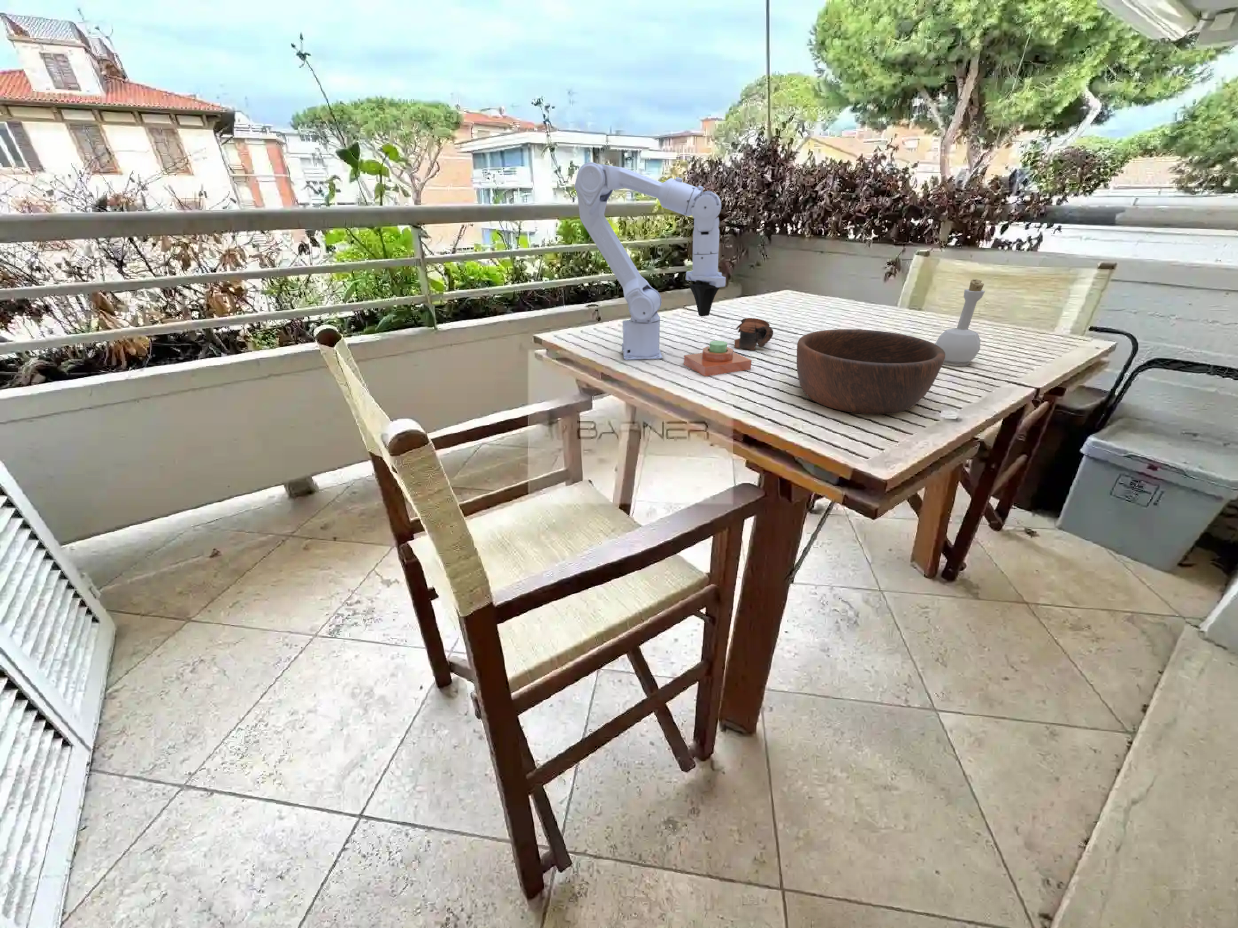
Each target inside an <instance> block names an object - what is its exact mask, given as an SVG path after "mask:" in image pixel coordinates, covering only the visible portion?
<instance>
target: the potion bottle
mask: <svg viewBox="0 0 1238 928" xmlns="http://www.w3.org/2000/svg"><path fill="white" fill-rule="evenodd" d="M984 286H985V283H983V282H982V280H981V279H977V278H976V279H975V278H973V279H971V280H970V283H969V287H968V288H967V289H964V291H963V299H964V304H963V307H962V311H961V313H960V317H959V320H958V323H957V326H956V327H953V328H948V329H945V330H944V331H943V332H942V333H941V334H940V335H939V337H938V338H937V340H936V341H935V343H934V344H936V345H937V346H939V347H940V348H942V349H943V350H944V352H945V360H944V362H943V365H946V366H952V367H953V366H954V367H967V366H969V365H970V364H971V361H973V360H974V359H975V358H976V357H977V355H978V353H979V352H980V351H981V338H980V335H979V333H978V332H977V331H975V330H971V329H970V328H969V327H970V324H971V321H972V318H973V315H974V312H975V309H976V306H977V303H978V302H979V301H980V300H981V299H982V298H983V297H984V294H985V292H986V290H983V288H984Z"/></svg>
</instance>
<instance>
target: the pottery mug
mask: <svg viewBox="0 0 1238 928" xmlns="http://www.w3.org/2000/svg"><path fill="white" fill-rule="evenodd" d="M740 322H741V323H740V324H739V325H737V327H736V328H735V329H736V330H738V331H737V333H739V338H737V339H734V348H735V349H739V348H740V349H745V350H749V351H755V349H756V346H757V345H758V347H759V348H763V347H765V345H767V344H768V343H769V342H770V341H771V339H772V338H773V336H774V330H773V328H772V327H771V325H770V323H769V322H768V321H766V320H764V319H760V318H756V317H746V318H742V319H741V320H740Z"/></svg>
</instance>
